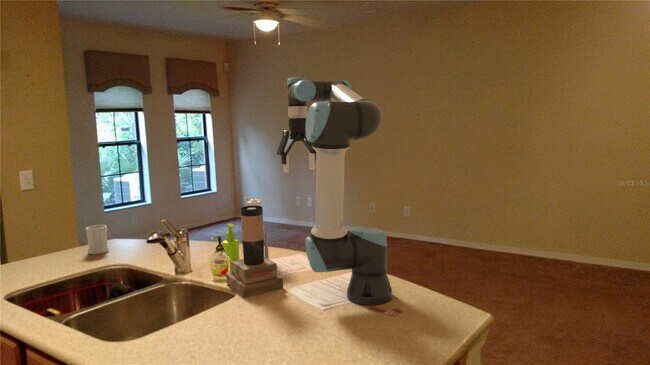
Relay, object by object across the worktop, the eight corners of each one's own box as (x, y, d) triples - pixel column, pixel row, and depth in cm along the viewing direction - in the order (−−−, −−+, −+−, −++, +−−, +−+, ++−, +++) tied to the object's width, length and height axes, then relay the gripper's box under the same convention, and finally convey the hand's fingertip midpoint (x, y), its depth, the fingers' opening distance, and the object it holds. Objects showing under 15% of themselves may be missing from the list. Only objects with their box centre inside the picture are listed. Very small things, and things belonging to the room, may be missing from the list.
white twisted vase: (251, 264, 193) (247, 198, 189) (244, 260, 200) (240, 195, 196) (269, 261, 197) (267, 196, 194) (262, 256, 204) (259, 193, 201)
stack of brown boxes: (283, 288, 166) (282, 263, 165) (244, 297, 158) (242, 272, 156) (264, 276, 178) (263, 253, 177) (227, 285, 170) (225, 261, 169)
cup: (80, 254, 215) (78, 228, 213) (93, 248, 224) (91, 224, 222) (101, 254, 213) (98, 229, 211) (113, 249, 222) (111, 224, 220)
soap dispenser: (227, 277, 178) (225, 226, 175) (223, 272, 184) (220, 223, 181) (242, 275, 181) (240, 224, 178) (237, 270, 187) (235, 221, 184)
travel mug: (267, 259, 170) (264, 205, 167) (262, 266, 163) (259, 209, 160) (246, 259, 171) (243, 205, 168) (240, 265, 163) (237, 209, 161)
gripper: (314, 117, 196) (316, 167, 199) (266, 118, 179) (268, 173, 182) (327, 116, 190) (328, 168, 193) (278, 117, 173) (280, 174, 176)
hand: (299, 171), depth 187 cm, fingers open, 13 cm apart
